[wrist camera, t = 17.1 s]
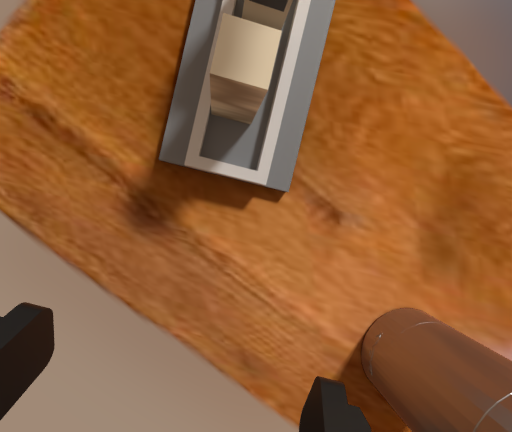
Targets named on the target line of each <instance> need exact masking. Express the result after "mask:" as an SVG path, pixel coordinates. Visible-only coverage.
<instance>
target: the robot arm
mask: <svg viewBox="0 0 512 432" xmlns="http://www.w3.org/2000/svg"><path fill="white" fill-rule="evenodd" d="M53 351H54V325H53V312H52V310H51V309H50V308H46V307H41V306H38V305H34V304H30V303H26V302H25V303H21V304H19V305H18V306H16V307H15V308H14V309H13V310H11V311H10V312H9V313H8V314H7V315H5V316H4V317H0V420H1V419H2V418H3V417H4V415H5V414H6V413H7V412H8V411H9V410H10V408H11V407H12V406H13V405H14V404H15V403H16V401H17V400H18V399H19V398H20V397H21V396H22V394H23V393H24V392H25V391H26V390H27V388H28V387H29V386H30V385H31V384H32V383H33V381H34V380H35V379H36V378H37V377H38V376H39V374H40V373H41V372H42V371H43V369H44V368H45V367H46V366H47V364H48V362H49V361H50V359H51V357H52V354H53ZM361 358H362V365H363V368H364V371H365V373H366V375H367V377H368V379H369V380H370V381H371V382H372V384H373V385H374V386H375V387H376V388H377V390H378V391H379V392H380V393H381V394H382V396H383V397H384V398H385V399H386V401H387V402H388V403H389V404H390V406H391V407H392V408H393V409H394V410H395V412H396V413H397V414H398V415H399V416H400V418H401V419H402V420H403V421H404V422H405V424H406V425H407V426H408V427H409V428H410V430H411V431H412V432H512V361H510V360H509V359H507V358H505V357H503V356H502V355H500V354H498V353H496V352H494V351H493V350H491V349H489V348H487V347H485V346H484V345H482V344H480V343H478V342H477V341H475V340H473V339H471V338H469V337H468V336H466V335H464V334H462V333H460V332H459V331H457V330H455V329H454V328H452V327H450V326H448V325H446V324H445V323H443V322H441V321H439V320H437V319H436V318H434V317H432V316H430V315H428V314H427V313H425V312H423V311H420V310H417V309H413V308H400V309H396V310H392V311H390V312H388V313H386V314H384V315H383V316H381V317H380V318H379V319H377V320H376V321H375V323H374V324H373V325H372V326H371V327H370V329H369V330H368V332H367V334H366V336H365V338H364V341H363V344H362V351H361ZM299 432H371V428H370V426H369V424H368V422H367V420H366V418H365V417H364V415H363V413H362V411H361V410H360V408H359V407H356V406H352V405H348V402H347V396H346V390H345V386H344V384H343V382H339V381H335V380H331V379H327V378H323V377H319V376H317V377H316V378H315V380H314V383H313V385H312V388H311V390H310V393H309V395H308V397H307V400H306V402H305V405H304V407H303V410H302V414H301V418H300V426H299Z"/></svg>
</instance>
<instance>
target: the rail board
mask: <svg viewBox="0 0 512 432" xmlns="http://www.w3.org/2000/svg"><path fill="white" fill-rule="evenodd" d="M334 4H335V0H195V5H194V9H193V13H192V18H191V22H190V26H189V31H188V35H187V39H186V43H185V48H184V52H183V56H182V61H181V65H180V69H179V74H178V78H177V82H176V87H175V91H174V95H173V100H172V104H171V108H170V112H169V117H168V121H167V125H166V130H165V134H164V138H163V143H162V147H161V151H160V156H159V160H161V161H164V162H168V163H172V164H176V165H180V166H184V167H188V168H192V169H196V170H200V171H204V172H208V173H212V174H216V175H220V176H224V177H228V178H232V179H236V180H240V181H244V182H248V183H252V184H256V185H260V186H264V187H268V188H272V189H276V190H280V191H284V192H289V188H290V184H291V179H292V175H293V171H294V167H295V163H296V159H297V155H298V151H299V147H300V143H301V139H302V135H303V131H304V126H305V122H306V118H307V114H308V110H309V106H310V102H311V98H312V94H313V90H314V86H315V82H316V77H317V73H318V69H319V65H320V61H321V57H322V53H323V49H324V45H325V41H326V37H327V33H328V28H329V24H330V20H331V16H332V12H333V8H334ZM223 13H226V14H229V15H233V16H236V17H239V18H242V19H245V20H249V21H252V22H255V23H258V24H261V25H265V26H268V27H271V28H274V29H277V30H281V31H282V33H281V37H280V41H279V46H278V50H277V54H276V58H275V63H274V67H273V71H272V75H271V80H270V84H269V88H268V91H267V93H266V95H265V97H264V99H263V101H262V103H261V105H260V107H259V109H258V111H257V113H256V115H255V117H254V119H253V121H252V123H251V125H250V124H246V123H242V122H238V121H235V120H231V119H227V118H224V117H220V116H216V115H212V114H211V93H210V69H211V65H212V60H213V56H214V51H215V47H216V43H217V38H218V34H219V30H220V25H221V21H222V16H223Z"/></svg>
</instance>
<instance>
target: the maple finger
mask: <svg viewBox="0 0 512 432" xmlns="http://www.w3.org/2000/svg"><path fill="white" fill-rule="evenodd" d="M281 33H282V31H281V30H277V29H274V28H271V27H268V26H265V25H261V24H258V23H255V22H252V21H249V20H245V19H242V18H239V17H236V16H233V15H229V14H226V13H223V16H222V21H221V25H220V30H219V34H218V38H217V43H216V47H215V51H214V56H213V60H212V65H211V69H210V93H211V114H212V115H216V116H220V117H224V118H227V119H231V120H235V121H238V122H242V123H246V124H250V125H251V123H252V121H253V119H254V117H255V115H256V113H257V111H258V109H259V107H260V105H261V103H262V101H263V99H264V97H265V95H266V93H267V91H268V88H269V84H270V80H271V75H272V71H273V67H274V63H275V58H276V54H277V50H278V46H279V41H280V37H281Z"/></svg>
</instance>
